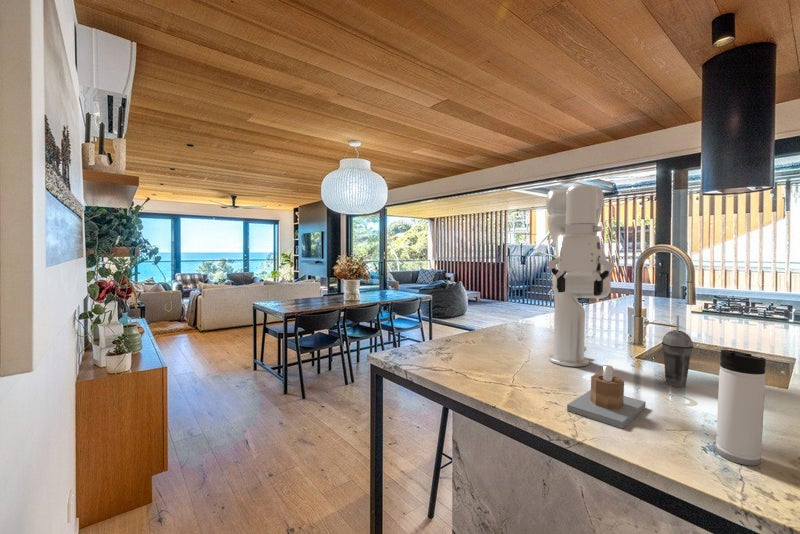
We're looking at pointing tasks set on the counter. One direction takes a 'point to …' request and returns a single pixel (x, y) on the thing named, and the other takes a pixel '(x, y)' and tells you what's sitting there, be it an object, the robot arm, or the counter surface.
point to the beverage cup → (677, 356)
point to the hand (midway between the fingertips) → (578, 293)
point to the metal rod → (607, 373)
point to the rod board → (607, 410)
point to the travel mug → (740, 407)
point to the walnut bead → (607, 392)
